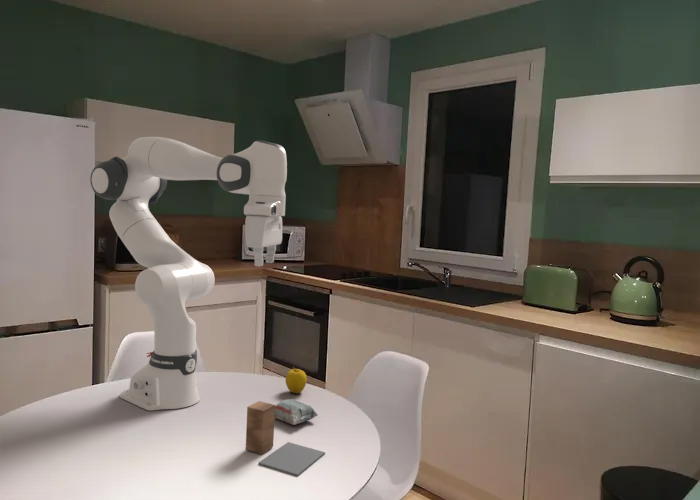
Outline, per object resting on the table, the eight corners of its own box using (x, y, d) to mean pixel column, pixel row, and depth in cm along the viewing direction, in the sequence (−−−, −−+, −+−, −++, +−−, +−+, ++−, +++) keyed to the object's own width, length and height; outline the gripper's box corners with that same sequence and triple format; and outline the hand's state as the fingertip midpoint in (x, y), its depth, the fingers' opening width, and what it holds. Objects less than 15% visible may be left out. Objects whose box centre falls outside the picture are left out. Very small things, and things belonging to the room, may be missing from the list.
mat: (258, 464, 114) (258, 462, 114) (288, 443, 124) (288, 442, 124) (297, 476, 109) (297, 474, 109) (325, 453, 120) (325, 452, 120)
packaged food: (294, 432, 131) (295, 412, 131) (263, 418, 139) (264, 400, 139) (318, 423, 138) (319, 405, 138) (287, 410, 146) (288, 393, 145)
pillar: (245, 450, 120) (247, 406, 119) (257, 443, 124) (259, 401, 123) (261, 455, 118) (263, 411, 117) (273, 447, 122) (275, 404, 121)
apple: (285, 389, 162) (286, 363, 162) (305, 389, 163) (306, 364, 163) (284, 396, 156) (286, 370, 156) (306, 396, 157) (307, 370, 156)
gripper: (266, 208, 138) (263, 260, 139) (241, 206, 118) (238, 267, 119) (289, 209, 138) (286, 261, 139) (268, 208, 118) (265, 269, 118)
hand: (264, 264), depth 129 cm, fingers open, 8 cm apart
